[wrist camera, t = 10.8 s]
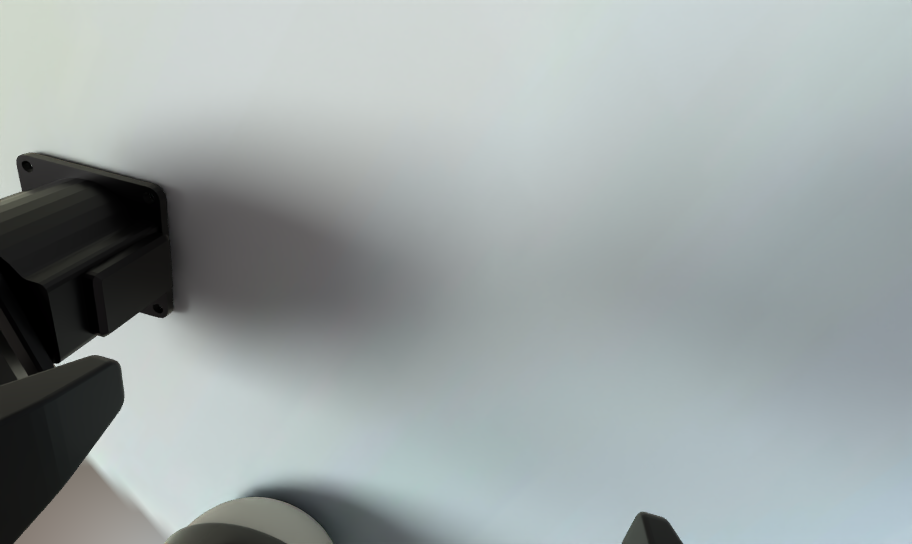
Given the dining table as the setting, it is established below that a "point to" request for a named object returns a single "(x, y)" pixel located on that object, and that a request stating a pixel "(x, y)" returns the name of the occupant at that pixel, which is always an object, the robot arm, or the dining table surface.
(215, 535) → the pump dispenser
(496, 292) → the dining table surface
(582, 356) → the dining table surface
